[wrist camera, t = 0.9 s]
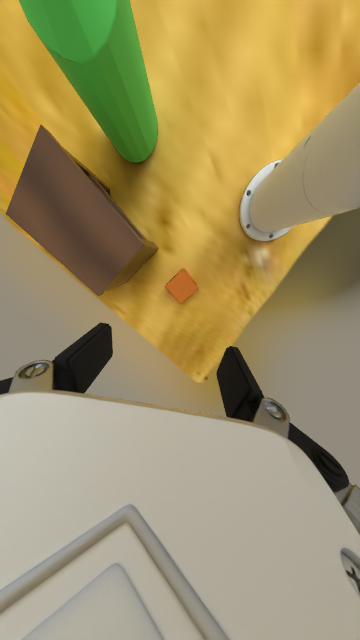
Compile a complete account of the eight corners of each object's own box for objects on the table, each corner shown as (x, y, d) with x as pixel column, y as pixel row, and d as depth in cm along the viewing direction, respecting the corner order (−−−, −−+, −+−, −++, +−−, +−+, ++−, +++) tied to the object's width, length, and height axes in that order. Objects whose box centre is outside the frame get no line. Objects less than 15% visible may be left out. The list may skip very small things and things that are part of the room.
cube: (183, 267, 34) (182, 270, 29) (196, 284, 35) (198, 289, 31) (168, 282, 36) (165, 286, 31) (181, 297, 37) (180, 303, 32)
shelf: (103, 179, 27) (40, 123, 16) (159, 248, 32) (143, 244, 21) (73, 228, 31) (5, 213, 20) (127, 282, 36) (98, 296, 25)
